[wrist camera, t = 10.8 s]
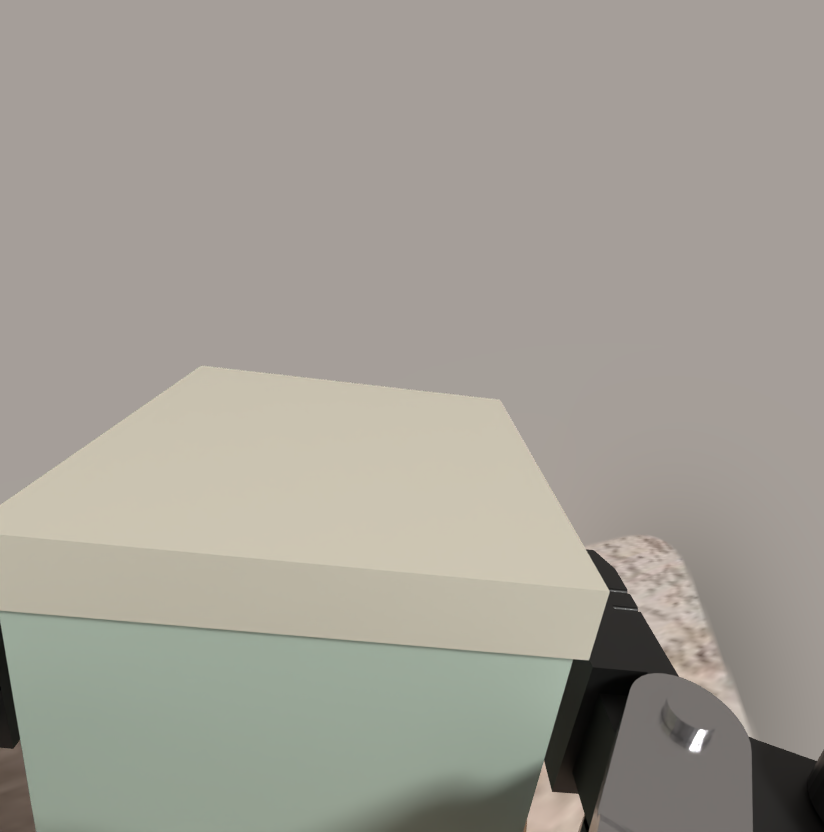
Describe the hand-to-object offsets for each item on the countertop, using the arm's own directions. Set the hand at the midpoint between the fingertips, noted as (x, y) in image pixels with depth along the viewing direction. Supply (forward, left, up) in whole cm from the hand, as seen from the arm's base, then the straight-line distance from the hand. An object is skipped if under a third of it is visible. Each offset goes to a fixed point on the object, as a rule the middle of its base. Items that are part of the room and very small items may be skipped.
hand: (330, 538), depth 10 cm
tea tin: (0, -2, -7) cm, 8 cm away
